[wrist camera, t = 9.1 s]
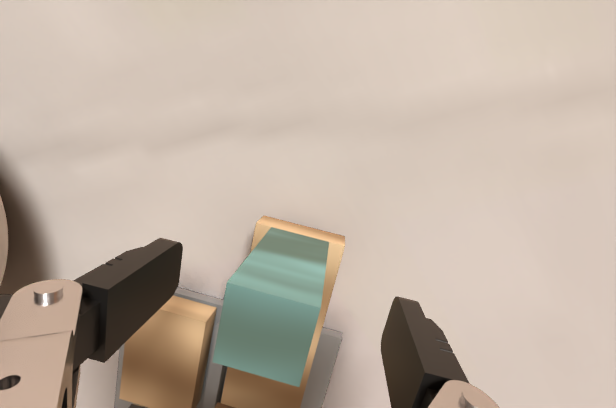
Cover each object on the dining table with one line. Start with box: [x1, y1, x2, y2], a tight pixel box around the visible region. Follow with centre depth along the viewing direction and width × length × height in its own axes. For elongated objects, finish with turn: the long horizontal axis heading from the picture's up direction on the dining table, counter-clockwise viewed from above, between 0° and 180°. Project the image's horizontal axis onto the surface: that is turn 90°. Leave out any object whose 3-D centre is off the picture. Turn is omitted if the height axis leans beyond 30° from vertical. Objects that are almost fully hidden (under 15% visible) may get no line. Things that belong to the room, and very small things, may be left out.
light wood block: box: [119, 295, 217, 408], centre depth 18 cm, size 7×5×2 cm, turn 167°
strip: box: [212, 216, 345, 408], centre depth 15 cm, size 17×5×8 cm, turn 167°
